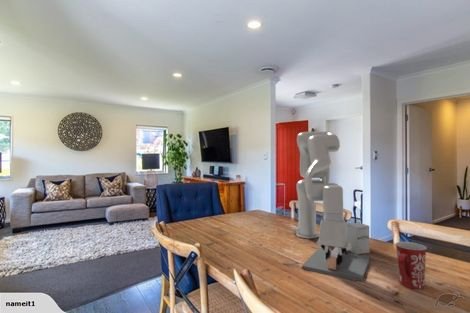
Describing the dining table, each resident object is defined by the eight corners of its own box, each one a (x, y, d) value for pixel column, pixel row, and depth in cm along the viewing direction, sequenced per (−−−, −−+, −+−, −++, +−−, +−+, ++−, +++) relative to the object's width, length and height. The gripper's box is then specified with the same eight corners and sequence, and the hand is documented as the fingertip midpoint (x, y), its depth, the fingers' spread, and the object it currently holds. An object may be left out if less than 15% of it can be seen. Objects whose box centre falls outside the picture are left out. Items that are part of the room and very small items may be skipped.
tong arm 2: (331, 269, 103) (331, 259, 103) (341, 254, 118) (341, 245, 118) (336, 270, 102) (335, 259, 102) (345, 255, 118) (344, 246, 118)
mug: (403, 276, 100) (402, 239, 100) (431, 285, 93) (431, 246, 93) (385, 285, 93) (385, 246, 93) (415, 296, 86) (414, 254, 86)
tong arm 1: (327, 268, 104) (327, 258, 104) (336, 253, 119) (336, 244, 119) (331, 269, 103) (331, 259, 103) (340, 254, 119) (340, 245, 119)
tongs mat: (301, 268, 108) (301, 265, 108) (318, 250, 128) (318, 247, 128) (362, 281, 96) (362, 278, 96) (370, 259, 116) (370, 256, 116)
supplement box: (356, 255, 122) (356, 227, 122) (345, 249, 129) (345, 223, 129) (370, 253, 124) (369, 225, 124) (358, 247, 131) (358, 221, 131)
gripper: (309, 216, 108) (310, 262, 108) (354, 220, 99) (355, 270, 99) (315, 212, 115) (315, 256, 114) (357, 216, 106) (358, 263, 106)
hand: (334, 262), depth 107 cm, fingers open, 3 cm apart
